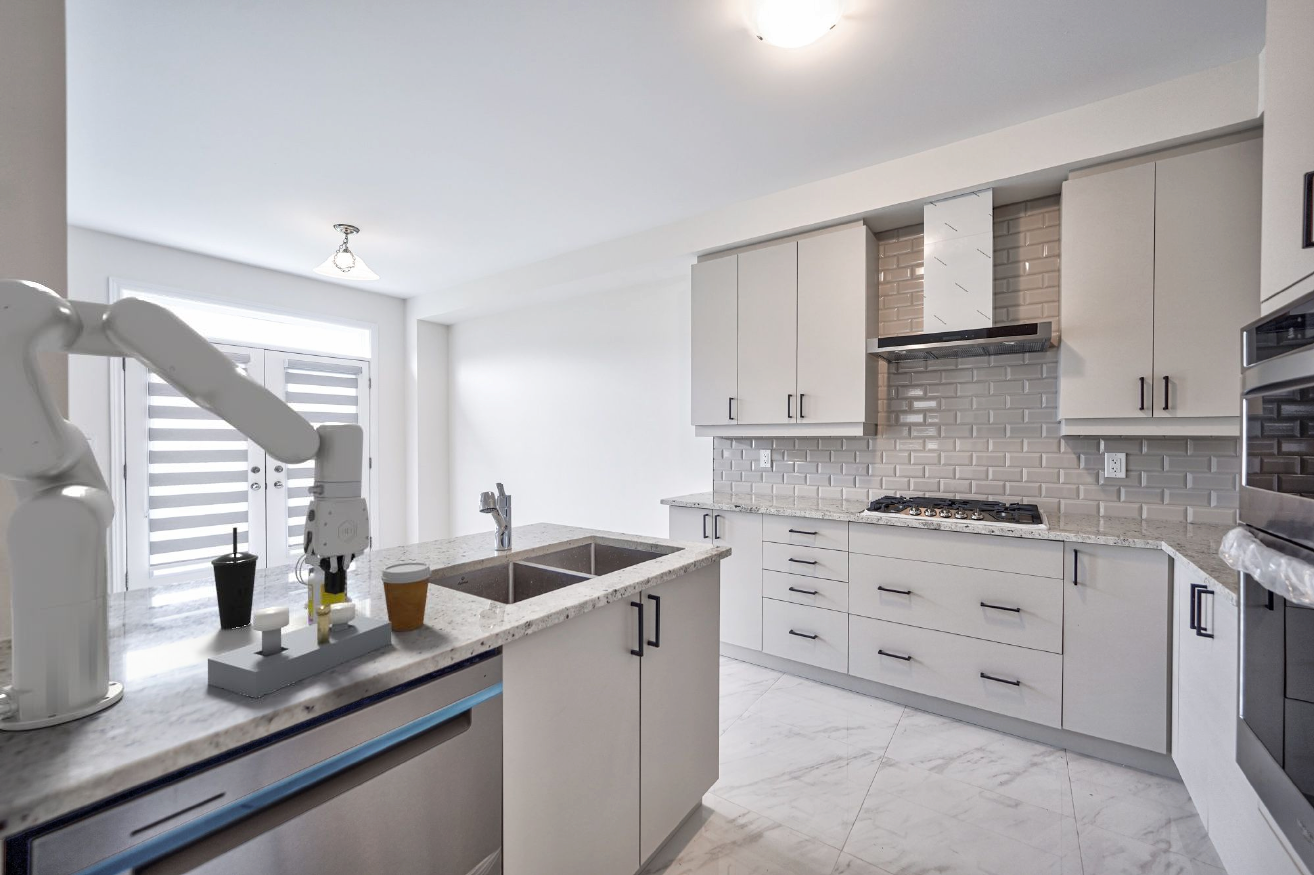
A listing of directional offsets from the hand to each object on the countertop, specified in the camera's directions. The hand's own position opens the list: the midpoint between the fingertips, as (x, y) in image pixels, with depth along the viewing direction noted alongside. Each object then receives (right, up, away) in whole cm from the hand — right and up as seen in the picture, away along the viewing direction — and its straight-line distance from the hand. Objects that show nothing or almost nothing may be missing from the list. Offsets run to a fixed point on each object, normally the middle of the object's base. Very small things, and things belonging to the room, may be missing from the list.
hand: (334, 592), depth 101 cm
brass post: (+2, -7, -7) cm, 9 cm away
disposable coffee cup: (+7, -11, +13) cm, 18 cm away
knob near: (-4, -7, -10) cm, 13 cm away
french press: (-18, -11, +27) cm, 35 cm away
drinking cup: (-28, -11, +13) cm, 33 cm away
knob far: (+1, -9, +1) cm, 9 cm away
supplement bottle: (-10, -11, +15) cm, 21 cm away
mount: (-2, -11, -5) cm, 12 cm away
